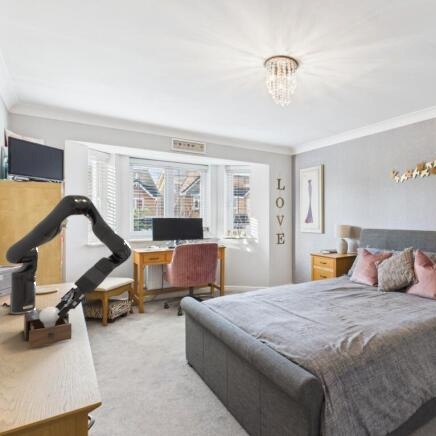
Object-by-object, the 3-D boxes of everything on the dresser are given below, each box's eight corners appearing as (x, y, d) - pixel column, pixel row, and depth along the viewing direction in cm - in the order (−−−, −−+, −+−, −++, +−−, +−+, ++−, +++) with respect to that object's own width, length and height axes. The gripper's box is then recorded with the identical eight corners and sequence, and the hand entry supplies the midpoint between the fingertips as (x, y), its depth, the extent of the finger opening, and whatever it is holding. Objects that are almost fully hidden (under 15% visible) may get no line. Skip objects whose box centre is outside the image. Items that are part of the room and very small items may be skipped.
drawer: (71, 339, 119) (71, 324, 119) (29, 348, 111) (29, 332, 111) (66, 329, 130) (66, 315, 130) (27, 337, 121) (27, 322, 121)
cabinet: (68, 332, 129) (68, 313, 129) (25, 340, 120) (25, 321, 120) (64, 323, 140) (64, 306, 139) (23, 330, 130) (23, 312, 130)
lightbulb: (63, 333, 123) (63, 305, 123) (45, 339, 117) (45, 309, 117) (53, 330, 125) (53, 303, 125) (35, 336, 120) (35, 307, 119)
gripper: (79, 272, 134) (45, 304, 126) (88, 277, 124) (52, 312, 116) (93, 282, 138) (61, 314, 129) (103, 288, 128) (69, 323, 120)
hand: (57, 313), depth 123 cm, fingers open, 8 cm apart
